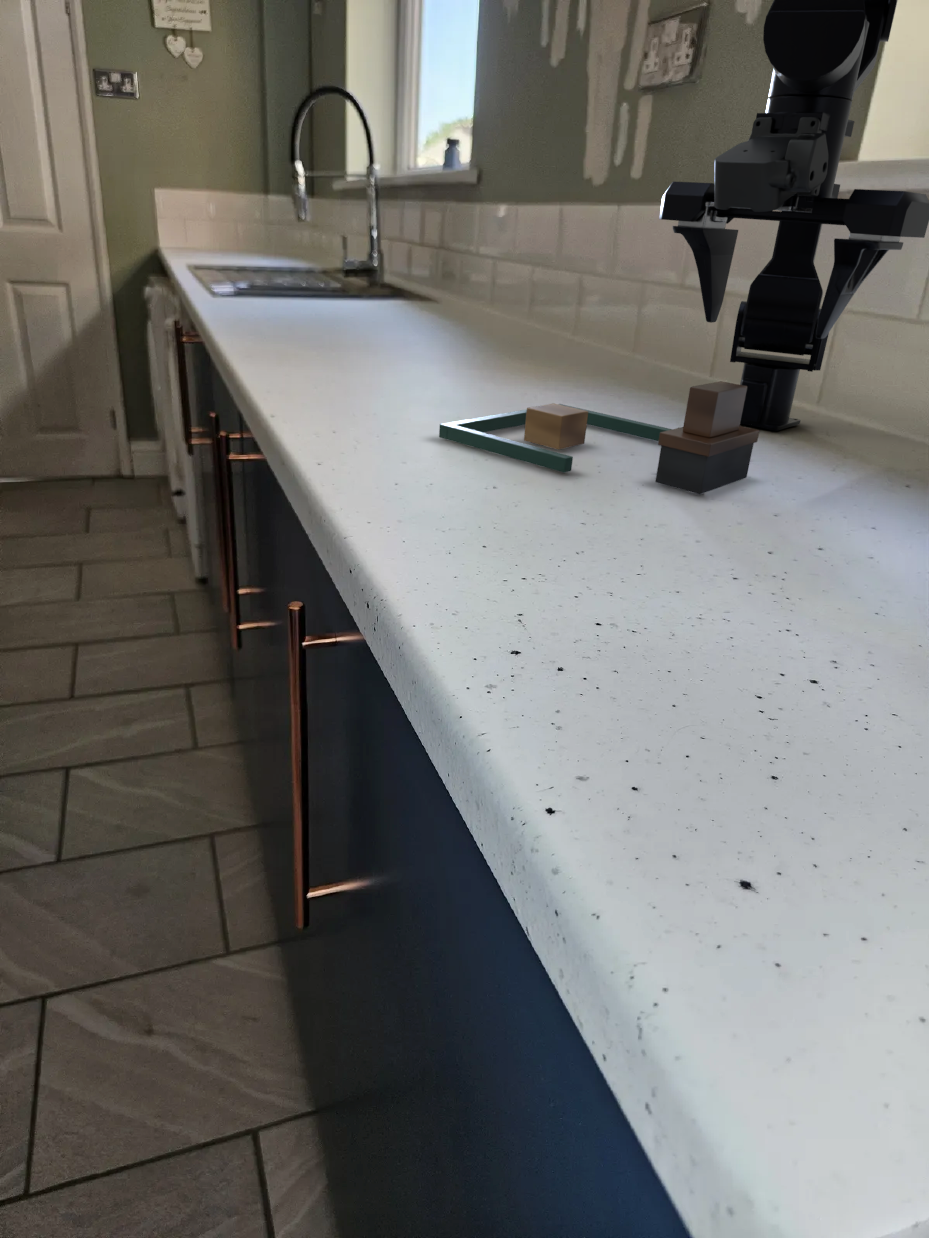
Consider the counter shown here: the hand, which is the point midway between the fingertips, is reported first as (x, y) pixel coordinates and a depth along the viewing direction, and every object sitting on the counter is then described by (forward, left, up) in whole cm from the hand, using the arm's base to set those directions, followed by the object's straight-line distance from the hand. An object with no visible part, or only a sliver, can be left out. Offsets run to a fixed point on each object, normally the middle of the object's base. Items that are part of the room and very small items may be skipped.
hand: (763, 329), depth 69 cm
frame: (+4, -15, -12) cm, 19 cm away
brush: (+5, -1, -12) cm, 12 cm away
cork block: (+5, -15, -12) cm, 20 cm away
